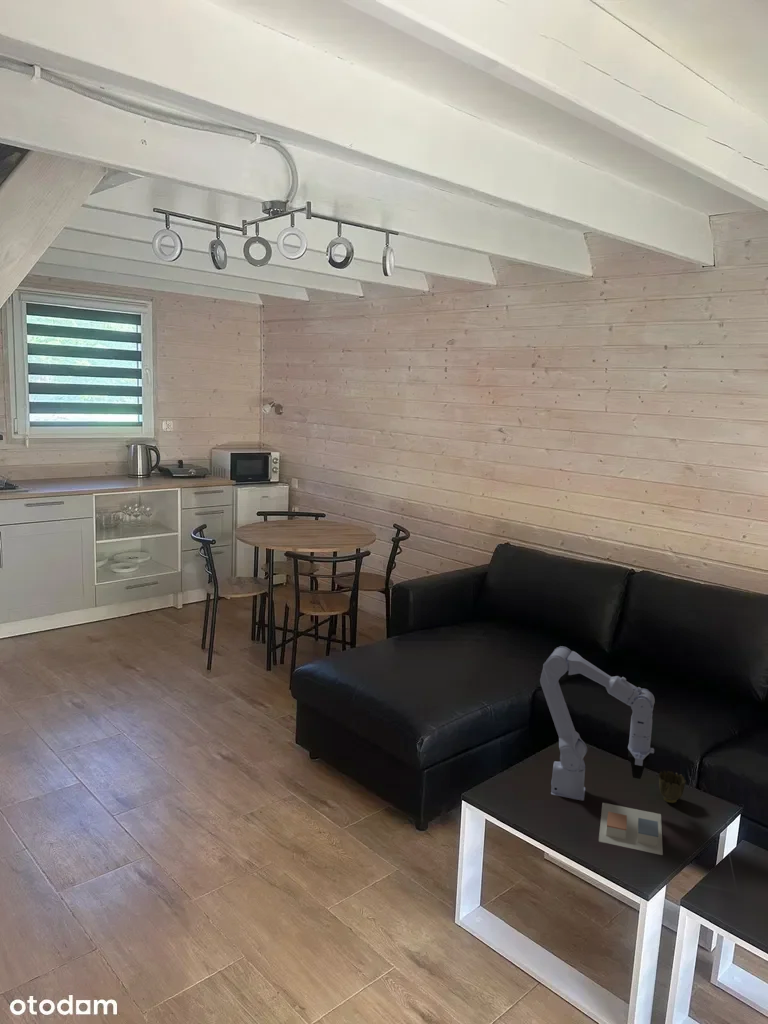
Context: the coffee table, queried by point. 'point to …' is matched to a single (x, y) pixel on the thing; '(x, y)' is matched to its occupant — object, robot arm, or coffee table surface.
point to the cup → (671, 786)
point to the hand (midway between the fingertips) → (636, 777)
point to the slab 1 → (616, 825)
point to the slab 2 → (647, 832)
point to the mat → (630, 828)
